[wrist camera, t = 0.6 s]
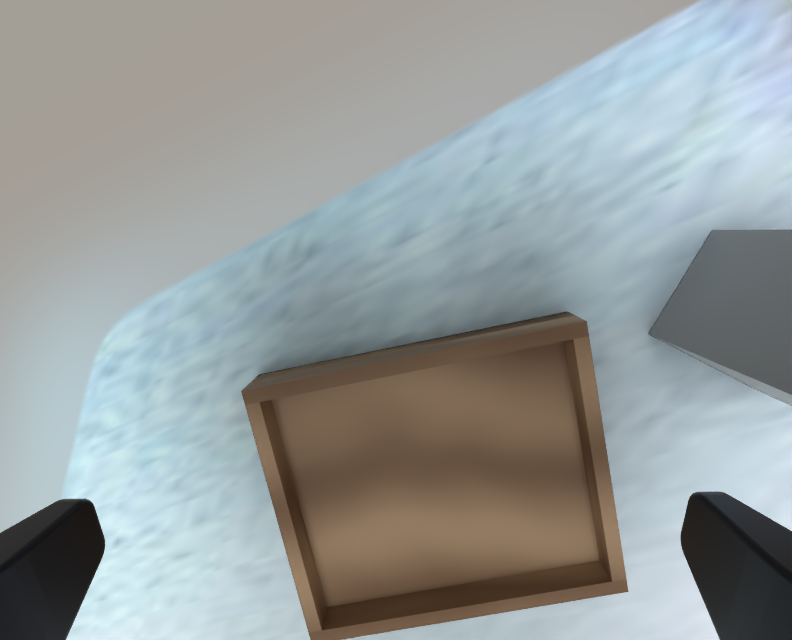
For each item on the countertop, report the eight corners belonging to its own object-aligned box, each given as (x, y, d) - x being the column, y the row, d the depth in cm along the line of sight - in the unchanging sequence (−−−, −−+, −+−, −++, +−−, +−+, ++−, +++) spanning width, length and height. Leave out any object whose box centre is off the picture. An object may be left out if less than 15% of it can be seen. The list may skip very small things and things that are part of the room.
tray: (606, 555, 24) (628, 591, 21) (321, 604, 24) (312, 644, 22) (567, 311, 22) (586, 321, 19) (258, 374, 23) (241, 391, 20)
